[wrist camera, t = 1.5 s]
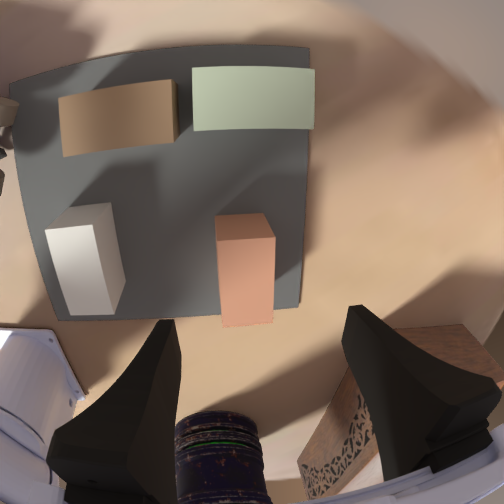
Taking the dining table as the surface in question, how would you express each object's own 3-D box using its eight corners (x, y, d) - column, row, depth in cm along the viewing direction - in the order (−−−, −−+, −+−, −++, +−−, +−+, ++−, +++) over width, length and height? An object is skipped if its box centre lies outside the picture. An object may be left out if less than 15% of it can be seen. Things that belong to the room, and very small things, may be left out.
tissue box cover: (364, 328, 28) (413, 408, 19) (461, 322, 31) (509, 378, 22) (296, 459, 39) (312, 516, 30) (378, 444, 42) (399, 492, 33)
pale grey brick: (125, 281, 22) (114, 314, 18) (86, 283, 22) (70, 315, 18) (111, 202, 19) (92, 224, 16) (69, 207, 19) (44, 229, 15)
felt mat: (297, 305, 25) (298, 307, 25) (59, 318, 23) (58, 320, 23) (307, 48, 17) (309, 48, 17) (11, 83, 14) (9, 83, 14)
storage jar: (257, 448, 35) (277, 550, 22) (180, 453, 34) (185, 556, 21) (258, 406, 31) (286, 535, 18) (165, 411, 30) (165, 542, 16)
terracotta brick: (262, 289, 24) (272, 323, 20) (219, 292, 24) (222, 327, 20) (263, 213, 21) (275, 237, 18) (214, 215, 21) (217, 241, 17)
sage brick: (293, 74, 17) (314, 69, 14) (293, 123, 19) (313, 129, 15) (194, 75, 17) (192, 67, 13) (196, 125, 18) (193, 131, 15)
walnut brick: (178, 84, 17) (171, 79, 13) (179, 135, 18) (173, 142, 15) (84, 97, 16) (58, 98, 12) (88, 146, 17) (63, 157, 14)
